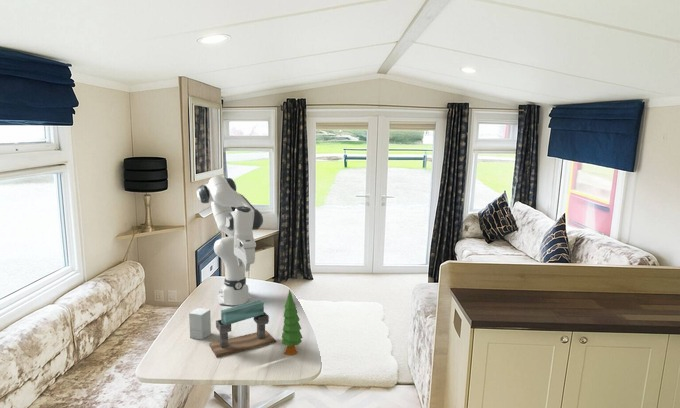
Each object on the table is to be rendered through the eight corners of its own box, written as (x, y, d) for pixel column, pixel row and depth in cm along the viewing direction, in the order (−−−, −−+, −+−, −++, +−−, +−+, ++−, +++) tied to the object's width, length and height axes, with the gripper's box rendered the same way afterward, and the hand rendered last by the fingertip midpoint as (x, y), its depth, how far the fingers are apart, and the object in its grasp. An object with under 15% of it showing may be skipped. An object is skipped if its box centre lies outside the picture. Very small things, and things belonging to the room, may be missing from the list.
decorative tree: (282, 347, 193) (282, 285, 189) (302, 346, 194) (303, 285, 190) (281, 357, 184) (281, 293, 180) (302, 357, 185) (303, 292, 181)
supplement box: (211, 333, 206) (211, 309, 204) (202, 340, 199) (201, 315, 197) (198, 331, 208) (198, 307, 206) (189, 337, 201) (188, 312, 199)
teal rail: (221, 322, 188) (221, 310, 187) (259, 311, 202) (259, 299, 201) (225, 325, 185) (225, 312, 184) (263, 314, 199) (263, 302, 198)
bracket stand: (209, 346, 193) (208, 319, 191) (266, 333, 208) (266, 308, 206) (216, 357, 183) (216, 329, 181) (275, 343, 198) (275, 317, 196)
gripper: (230, 236, 206) (230, 263, 208) (244, 245, 189) (244, 275, 191) (242, 235, 209) (242, 262, 211) (257, 244, 192) (257, 273, 194)
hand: (243, 268), depth 201 cm, fingers open, 8 cm apart
